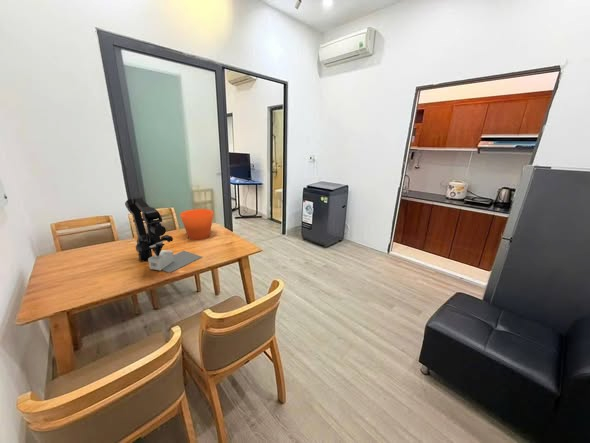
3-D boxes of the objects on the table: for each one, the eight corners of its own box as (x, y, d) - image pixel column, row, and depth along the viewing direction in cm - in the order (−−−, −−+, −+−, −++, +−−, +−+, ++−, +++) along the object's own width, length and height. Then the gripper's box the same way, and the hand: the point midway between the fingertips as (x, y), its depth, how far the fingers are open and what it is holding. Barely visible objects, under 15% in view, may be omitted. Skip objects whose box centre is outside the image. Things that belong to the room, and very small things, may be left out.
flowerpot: (208, 228, 212) (207, 207, 206) (220, 237, 194) (218, 214, 188) (178, 234, 197) (175, 211, 191) (188, 245, 179) (185, 219, 173)
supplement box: (160, 271, 141) (175, 261, 153) (158, 259, 139) (173, 250, 151) (149, 269, 143) (165, 259, 155) (147, 258, 141) (163, 249, 152)
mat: (184, 251, 168) (184, 250, 168) (202, 257, 160) (202, 256, 160) (150, 265, 148) (150, 264, 148) (169, 273, 140) (169, 272, 140)
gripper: (160, 224, 148) (163, 247, 153) (128, 233, 132) (133, 258, 137) (171, 227, 143) (175, 251, 148) (140, 237, 127) (144, 263, 132)
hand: (157, 255), depth 141 cm, fingers closed
